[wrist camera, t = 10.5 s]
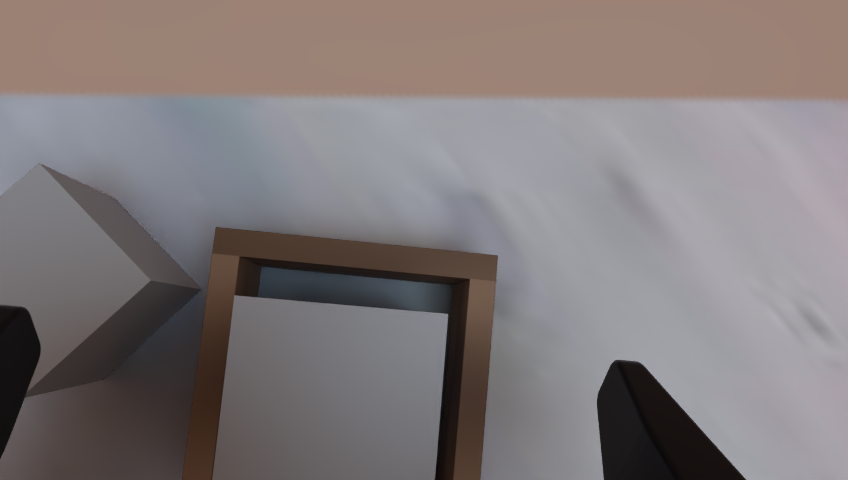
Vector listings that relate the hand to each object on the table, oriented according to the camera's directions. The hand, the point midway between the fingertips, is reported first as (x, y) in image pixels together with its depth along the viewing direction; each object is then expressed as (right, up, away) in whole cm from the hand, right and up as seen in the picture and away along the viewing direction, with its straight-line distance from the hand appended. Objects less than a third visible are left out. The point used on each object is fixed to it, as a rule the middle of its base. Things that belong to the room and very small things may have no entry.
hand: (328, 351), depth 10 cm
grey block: (-10, 0, +13) cm, 16 cm away
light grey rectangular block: (-1, -3, +13) cm, 14 cm away
